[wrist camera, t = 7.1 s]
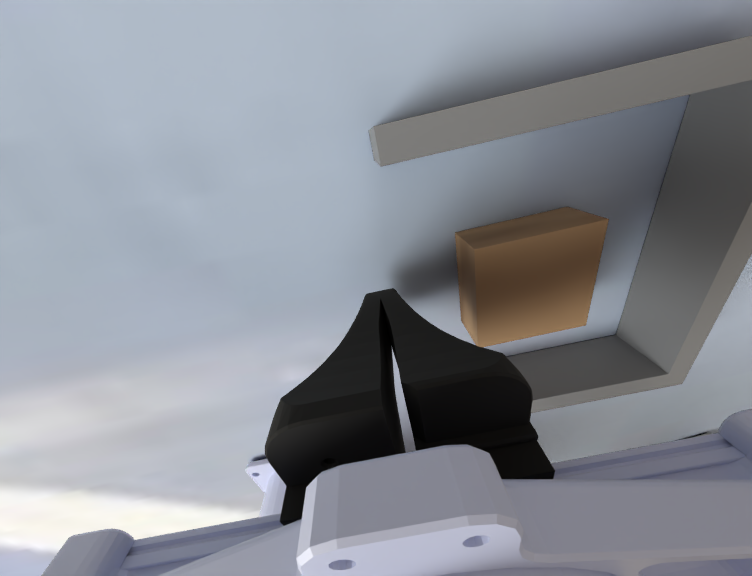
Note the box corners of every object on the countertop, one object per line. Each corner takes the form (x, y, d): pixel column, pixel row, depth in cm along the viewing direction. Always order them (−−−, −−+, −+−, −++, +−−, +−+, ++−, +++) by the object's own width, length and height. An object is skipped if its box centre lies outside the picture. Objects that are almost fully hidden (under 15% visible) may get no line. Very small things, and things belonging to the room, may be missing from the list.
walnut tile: (550, 297, 14) (586, 325, 12) (459, 317, 15) (477, 348, 12) (562, 205, 12) (608, 219, 10) (452, 230, 12) (474, 249, 10)
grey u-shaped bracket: (628, 344, 16) (682, 383, 13) (417, 386, 16) (429, 432, 14) (733, 43, 9) (884, 3, 7) (368, 130, 10) (373, 126, 7)
